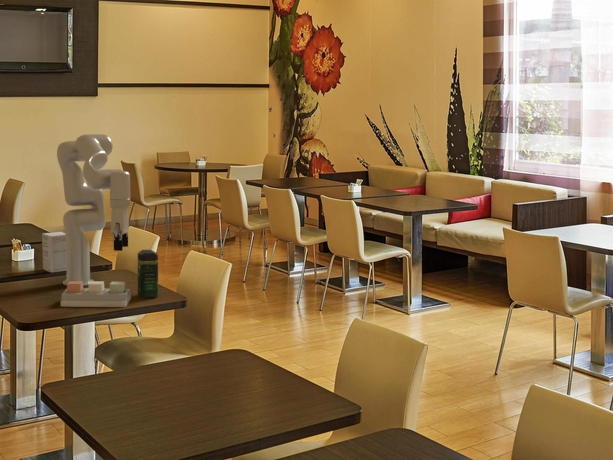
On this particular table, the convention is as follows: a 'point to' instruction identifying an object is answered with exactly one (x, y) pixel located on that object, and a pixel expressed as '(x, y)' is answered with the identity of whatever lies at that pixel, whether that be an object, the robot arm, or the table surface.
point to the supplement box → (54, 251)
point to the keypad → (96, 299)
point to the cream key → (96, 287)
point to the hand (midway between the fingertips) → (121, 248)
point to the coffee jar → (147, 274)
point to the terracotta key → (74, 286)
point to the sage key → (117, 287)
